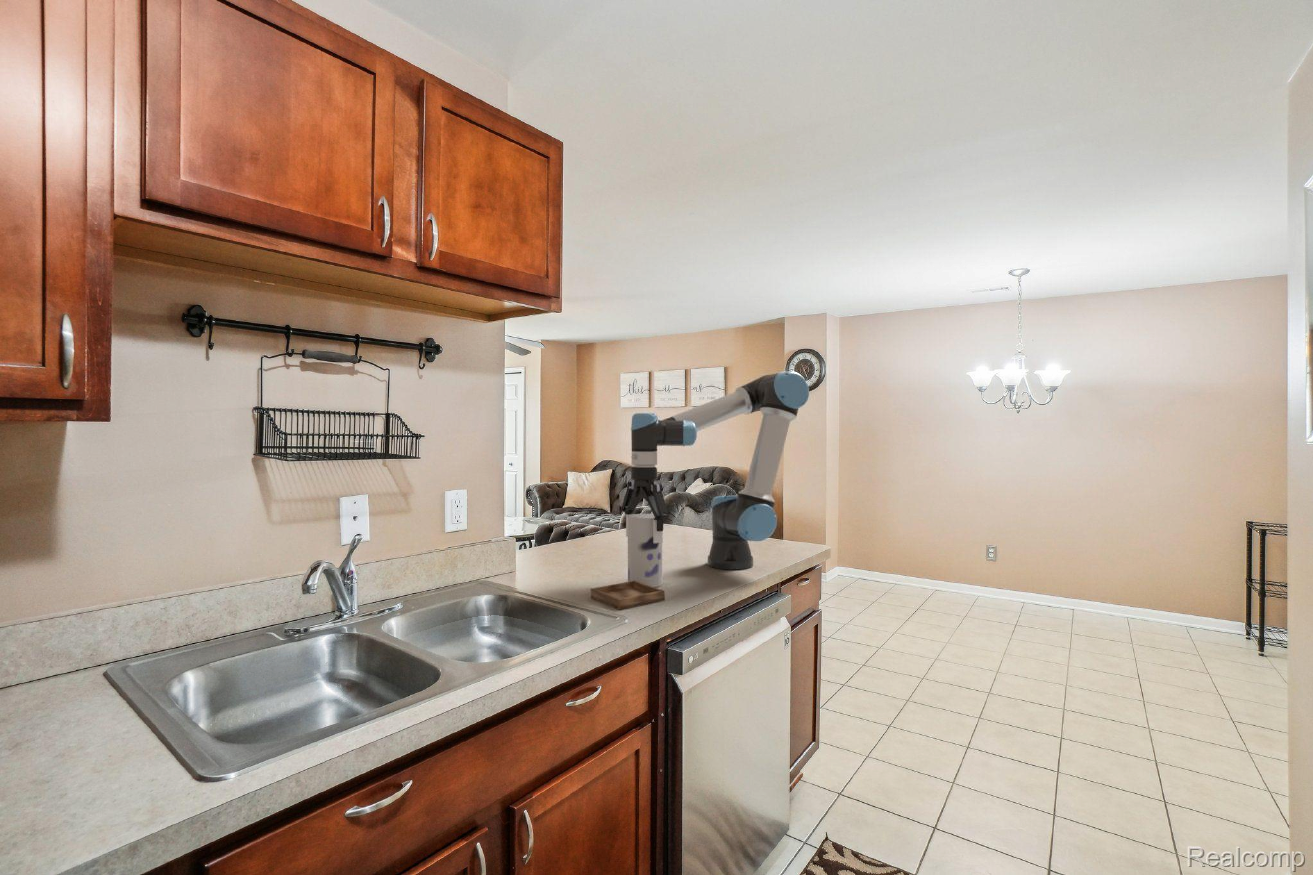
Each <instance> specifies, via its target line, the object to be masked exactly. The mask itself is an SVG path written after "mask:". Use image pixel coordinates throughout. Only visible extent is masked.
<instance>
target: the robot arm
mask: <svg viewBox="0 0 1313 875" xmlns="http://www.w3.org/2000/svg"><path fill="white" fill-rule="evenodd" d="M809 396H810V387H809V385H808V383H807V381H806V379H805V378H804V376H803V375H801V374H800V373H799V372H796V371H792V370H791V371H787V370H786V371H785V370H784V371H780V372H778V373H777V372H776V373H771V374H765V375H763V376H760V377H758V378H755V379H754V380H752V381H749V382H748V383H746V384H743V385H741V386H738V387H736V388H735V390H734V391H733V392H731V393H730V394H726V395H723V396H721V397H718V398H717V399H716V398H715V399H713V400H711V401H709V402H708V401H707V402H705V403H702V404H701V405H697V406H695V407H692V408H691V409H688V410H684V411H683V412H679V413H677V414H675V415H672V416H670V417H668V418H664V419H662V420H661V419H659V418H658V415H657V414H656V413H654V412H653V413H652V412H637V413H634V414H633V415H631V416H632V417H631V426H630V431H631V437H630V439H631V456H630V457H631V466H632V467H631V470H630V475H631V476H630V478H631V480H632V481H628V482H626V484H627V486H626V491H625V495H624V498H623V501H622V504H621V509H620V511H621V512H624V514H625V537H626V538H628V519H627V516H629V515H633V514H635V511H636V509H637V507H638V505H639V503H640V501H641V500H643V499H644V501H646V502H647V503H648V505H649V508H650V510H651V512H652V514H654V517H655V518H654V520H653V543H662V544H663V543H664V542H663V538H664V537H663V534H664V533H663V532H664V520H665V519H668V518H669V517H670V516H669V512H668V508H667V505H666V501H665V498H664V494H663V488H662V487H663V485H662V484H661V483H657V484H656V483H655V481H656V480H658V468H657V467H656V466H657V465H658V447H660V446H661V447H662V446H664V447H665V446H666V447H680V446H681V447H685V446H686V447H687V446H693V445H694V444H695V443H696V441H697V434H698V432H699V431H702V430H705V429H706V428H709V427H712V426H714V425H716V424H720V423H721V422H725V421H727V420H729V419H732V418H735V417H737V416H739V415H742V414H744V415H750V414H753V413H756V412H761V414H762V419H761V424H760V427H759V431H758V434H757V439H756V443H755V447H754V450H753V454H752V458H751V462H750V465H749V466H750V467H749V470H748V475H747V476H746V477H747V478H746V482H745V486H744V488H743V489H741V490H739V491H738V493H737V494H736V495H735V494H734V495H733V494H732V495H721V496H719V495H718V496H715V497H714V498H712V502H711V503H712V505H711V512H712V513H711V515H712V516H711V519H712V520H711V521H712V526H711V527H712V528H711V529H712V543H711V544H710V545H711V546H710V550H709V555H707V566H708V567H710V568H715V569H719V570H721V569H722V570H745V569H749V568H752V567H753V566H754V557H753V556H752V551H751V548H750V545H749V542H755V543H756V542H762V541H765V540H766V539H768V538H770V537H771V535H773V533H774V532H775V530H776V528H777V525H778V517H777V514H776V512H775V510H774V508H775V505H776V504H775V503H776V501H775V499H774V498H773V495H772V494H773V491H774V486H775V482H776V480H777V476H778V471H779V466H780V465H781V464H780V463H781V460H782V455H783V452H784V448H785V443H786V439H787V435H788V433H789V432H788V431H789V427H790V423H791V422H793V421H794V420H795V419H796V418H797V415H798V412H799V409H800V408H801V407H803V406H804V405H806V403H807V402H808V400H809Z"/></svg>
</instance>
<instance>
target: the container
mask: <svg viewBox="0 0 1313 875" xmlns="http://www.w3.org/2000/svg"><path fill="white" fill-rule="evenodd" d="M654 518H655V517H654V514H653V513H634V514H633V515H629V516H627V519H628V537H627V582H630V581H637V582H640V583H643V584H646V585H649V586H652V587H655V588H657V587H661V586H662V585H663V542H662V543H653V520H654Z"/></svg>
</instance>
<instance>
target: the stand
mask: <svg viewBox="0 0 1313 875" xmlns="http://www.w3.org/2000/svg"><path fill="white" fill-rule="evenodd" d="M665 593H666V592H665V590H663V589H660V588H657V587H652V586H649V585H646V584H643V583H640V582H637V581H630V582H628V581H626V582H618V583H615V584H614V583H613V584H609V585H603V586H597V587H593V588H590V598H591V599H592V600H594V599H595V601H597V602H599V603H602V604H605V605H607V606H609V607H612V608H614V609H617V610H619V611H622V610H626V609H627V610H628V609H631V608H635V607H641V606H644V605H650V604H654V603H659V602H663V601H666V600H665V596H666V594H665Z"/></svg>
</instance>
